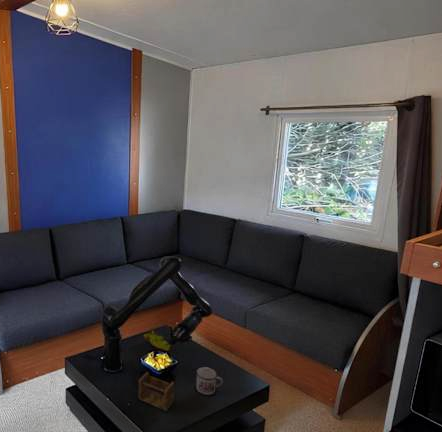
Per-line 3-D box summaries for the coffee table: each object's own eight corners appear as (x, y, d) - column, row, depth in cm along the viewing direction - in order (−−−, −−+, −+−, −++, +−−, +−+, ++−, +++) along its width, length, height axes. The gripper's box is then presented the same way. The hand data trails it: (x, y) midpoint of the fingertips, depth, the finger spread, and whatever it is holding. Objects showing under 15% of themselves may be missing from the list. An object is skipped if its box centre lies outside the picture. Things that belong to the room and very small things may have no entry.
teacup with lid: (196, 394, 188) (197, 372, 186) (194, 382, 197) (196, 361, 194) (223, 397, 186) (225, 375, 183) (220, 385, 195) (222, 363, 192)
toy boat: (150, 338, 238) (150, 323, 236) (173, 352, 223) (174, 336, 221) (142, 342, 234) (142, 326, 232) (165, 356, 220) (165, 339, 218)
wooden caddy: (138, 399, 186) (138, 379, 183) (146, 390, 192) (147, 371, 190) (166, 411, 177) (167, 391, 175) (173, 401, 183) (174, 382, 181)
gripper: (177, 314, 209) (160, 330, 197) (200, 324, 201) (184, 342, 189) (176, 326, 212) (159, 343, 200) (199, 336, 204) (183, 354, 192)
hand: (171, 342), depth 194 cm, fingers closed
